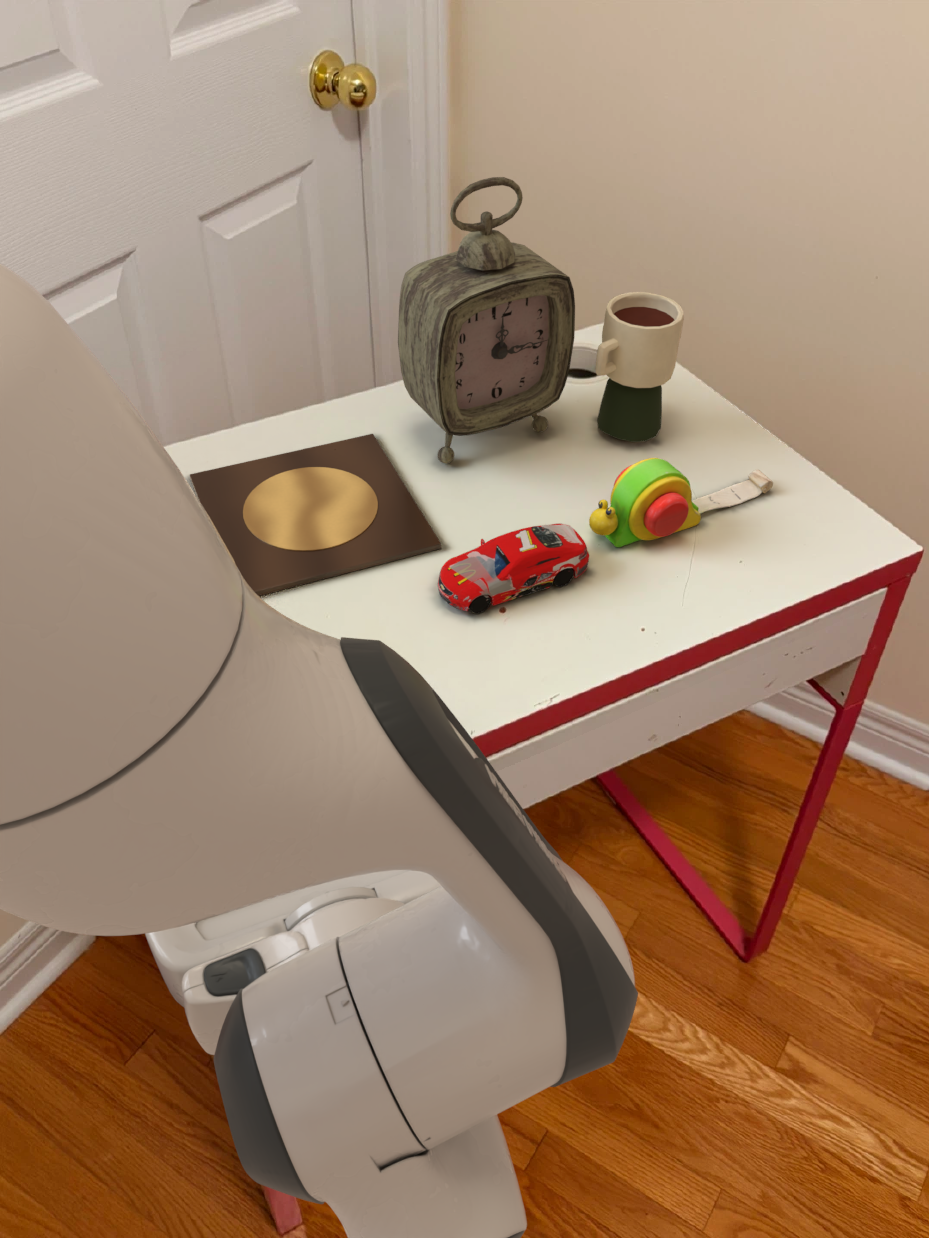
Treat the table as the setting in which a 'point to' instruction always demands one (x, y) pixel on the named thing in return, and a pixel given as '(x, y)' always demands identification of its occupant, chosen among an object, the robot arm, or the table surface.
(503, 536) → the race car
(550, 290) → the tabletop clock
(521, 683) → the table surface
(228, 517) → the brown flat square panel
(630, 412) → the cream coffee mug
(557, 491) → the table surface
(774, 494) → the table surface
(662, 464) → the toy measuring tape
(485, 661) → the table surface
